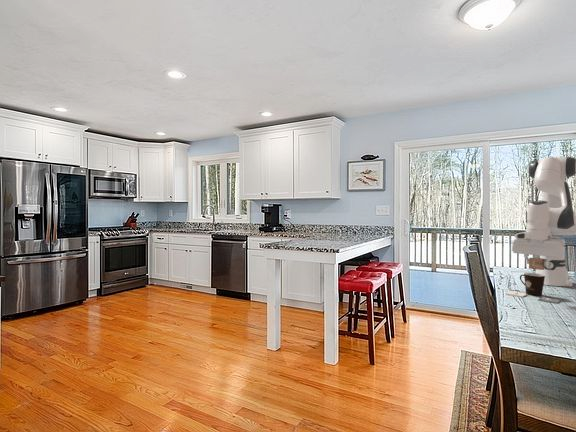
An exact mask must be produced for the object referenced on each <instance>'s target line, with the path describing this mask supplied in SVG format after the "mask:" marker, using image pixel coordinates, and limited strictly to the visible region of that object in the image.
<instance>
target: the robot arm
mask: <svg viewBox="0 0 576 432" xmlns="http://www.w3.org/2000/svg"><path fill="white" fill-rule="evenodd" d="M527 173H528V176H529V177H530V178H532V179H533V181H534V186H535V187H536V189H538V190H539V191H541V200H532V201H529V203H528V206H527V209H526V210H527V211H526V213H525V223H526V224H525V226H526V231H522V232H518V233H515V234H514V239H513V241H512V245H511V251H512V252H513V253H514V254H520V255H523V257H524V258H525V260H526V265H529V258H530V257H529V256H539V258H540V259H545V262H543V266H545V267H544V270H538V269H535V273H536V274H542V275H545V279H544V285H545V286H552V287H570V288H572V287H573V280H570V276H569V275H568V274H569V271H568V269H567V268H566V265H567V264H566V263H567V262H566V259H565V258H566V257H565V254H566V247H565V246H566V240H565V238H563V237H562V236H573V235H576V213H575V211H574V208H573V202H572V194H571V191H570V186H569V184H568V182H567V180H569V179H570V178H573V177H574V176H575V175H576V158H575V157H574V156H572V157H571V156H567V157H565V156H564V157H563V156H562V157H561V156H560V157H556V156H555V157H554V156H545V157H544V158H543V157H542V159H533V160H532V161H530V162H529V164H528V166H527ZM566 179H567V180H566ZM555 235H556V236H555ZM558 235H559V236H558Z"/></svg>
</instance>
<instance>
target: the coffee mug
mask: <svg viewBox="0 0 576 432" xmlns="http://www.w3.org/2000/svg"><path fill="white" fill-rule="evenodd" d="M522 277H523V278H524V280H522ZM544 279H545V275H542V274H536V272H525V273H523V274H520V275H519V280H520V283H522V284H523V285H524V288H525V294H527V295H526V296H532V297H543V296H542V295H543V292H544V291H543V290H544V285H545V284H544Z"/></svg>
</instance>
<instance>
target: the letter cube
mask: <svg viewBox="0 0 576 432" xmlns="http://www.w3.org/2000/svg"><path fill="white" fill-rule="evenodd" d="M528 258H529V264H528V269H529V270H530V269H531V270H536V269H538V270H544V267H545V266H543V262H545V259H540V257H528Z"/></svg>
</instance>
